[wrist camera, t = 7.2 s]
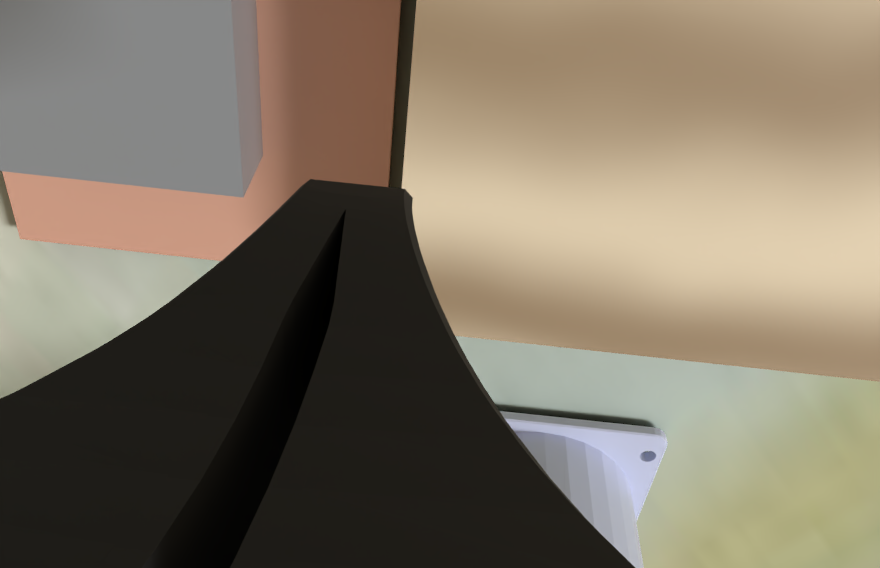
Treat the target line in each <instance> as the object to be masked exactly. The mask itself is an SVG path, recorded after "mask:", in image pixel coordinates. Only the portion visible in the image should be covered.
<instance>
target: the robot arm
mask: <svg viewBox="0 0 880 568" xmlns="http://www.w3.org/2000/svg"><path fill="white" fill-rule="evenodd" d="M412 202H413V198H412V196H411V195H410V194H409V193H408V192H407V191H406V189H402V188H392V187H382V186H373V185H363V184H353V183H343V182H334V181H324V180H314V179H310V180H309V181H307V182H306V183H305V184H303V185H302V186H301V187H300V188H299V189H298V190H297V191H296V192H295V193H294V194H293V195H292V196H291V197H290V198H289V199H288V200H287V201H286V202H285V203H284V204H283V205H282V206H281V207H280V208H279V209H278V210H277V211H276V212H275V213H274V214H273V215H271V216H270V217H269V218H268V219H267V220H266V221H265V222H264V223H263V224H262V225H261V226H260V227H259V228H258V229H257V230H256V231H255V232H253V233H252V234H251V235H250V236H249V237H248V238H247V239H246V240H244V241H243V242H242V243H241V244H240V245H239V246H238V247H237V248H235V249H234V250H233V251H232V252H231V253H230V254H229V255H228V256H226V257H225V258H224V259H223V260H222V261H221V262H220V263H218V264H217V265H216V266H215V267H214V268H212V269H211V270H210V271H208V272H207V273H206V274H205V275H203V276H202V277H201V278H200V279H198V280H197V281H196V282H194V283H193V284H192V285H191V286H189V287H188V288H187V289H186V290H184V291H183V292H182V293H180V294H179V295H178V296H177V297H175V298H174V299H173V300H171V301H170V302H169V303H167V304H166V305H164V306H163V307H162V308H160V309H159V310H157V311H156V312H155V313H153V314H152V315H150V316H149V317H147V318H146V319H144V320H143V321H141V322H140V323H138V324H136V325H135V326H133V327H132V328H130V329H128V330H127V331H125V332H124V333H122V334H121V335H119V336H117V337H116V338H114V339H113V340H111V341H109V342H108V343H106V344H104V345H103V346H101V347H99V348H97V349H96V350H94V351H92V352H90V353H88V354H86V355H84V356H83V357H81V358H79V359H77V360H75V361H73V362H71V363H69V364H68V365H66V366H64V367H62V368H60V369H58V370H56V371H54V372H52V373H51V374H49V375H47V376H45V377H43V378H41V379H39V380H37V381H36V382H34V383H32V384H30V385H28V386H26V387H24V388H22V389H20V390H18V391H16V392H14V393H12V394H10V395H8V396H6V397H3V398H1V399H0V568H644V566H643V560H642V554H641V548H640V542H639V536H638V530H637V524H636V521H637V519H638V516H639V514H640V512H641V509H642V507H643V504H644V502H645V499H646V497H647V494H648V492H649V489H650V487H651V485H652V482H653V480H654V477H655V475H656V472H657V470H658V467H659V465H660V463H661V460H662V458H663V455H664V453H665V450H666V448H667V438H666V435H665V433H664V431H662V430H661V429H658V428H655V427H646V426H637V425H627V424H618V423H608V422H599V421H590V420H580V419H571V418H561V417H552V416H543V415H533V414H524V413H514V412H505V411H499V410H498V408H497V407H496V405H495V404H494V402H493V400H492V399H491V397H490V396H489V394H488V393H487V391H486V390H485V388H484V387H483V385H482V383H481V382H480V380H479V378H478V377H477V375H476V373H475V372H474V370H473V368H472V367H471V365H470V363H469V362H468V360H467V358H466V356H465V354H464V352H463V351H462V349H461V347H460V345H459V343H458V341H457V339H456V337H455V335H454V333H453V331H452V329H451V327H450V325H449V322H448V320H447V318H446V316H445V314H444V312H443V310H442V307H441V305H440V303H439V300H438V298H437V296H436V293H435V291H434V288H433V285H432V282H431V280H430V277H429V274H428V271H427V269H426V266H425V263H424V260H423V257H422V254H421V251H420V247H419V243H418V239H417V235H416V231H415V226H414V221H413V214H412ZM645 451H649V452H645Z"/></svg>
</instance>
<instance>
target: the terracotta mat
mask: <svg viewBox="0 0 880 568" xmlns="http://www.w3.org/2000/svg"><path fill="white" fill-rule="evenodd" d="M401 1H402V0H256V8H257V30H258V53H259V75H260V98H261V121H262V143H263V157H262V159H261V161H260V163H259V165H258V168H257V170H256V172H255V174H254V176H253V178H252V181H251V183H250V185H249V187H248V189H247V191H246V193H245V196H244V198H243V197H234V196H224V195H215V194H206V193H197V192H188V191H179V190H169V189H160V188H151V187H142V186H133V185H123V184H114V183H105V182H96V181H87V180H78V179H68V178H59V177H50V176H41V175H32V174H23V173H13V172H4V171H2V173H3V177H4V180H5V184H6V188H7V192H8V195H9V199H10V203H11V206H12V210H13V214H14V217H15V221H16V225H17V228H18V232H19V236H20V239H26V240H35V241H44V242H53V243H62V244H72V245H81V246H90V247H99V248H108V249H117V250H127V251H136V252H145V253H154V254H163V255H172V256H182V257H191V258H200V259H209V260H218V261H222V260H223V259H224V258H225V257H226V256H228V255H229V254H230V253H231V252H232V251H233V250H234V249H235V248H237V247H238V246H239V245H240V244H241V243H242V242H243V241H244V240H246V239H247V238H248V237H249V236H250V235H251V234H252V233H253V232H255V231H256V230H257V229H258V228H259V227H260V226H261V225H262V224H263V223H264V222H265V221H266V220H267V219H268V218H269V217H270V216H271V215H273V214H274V213H275V212H276V211H277V210H278V209H279V208H280V207H281V206H282V205H283V204H284V203H285V202H286V201H287V200H288V199H289V198H290V197H291V196H292V195H293V194H294V193H295V192H296V191H297V190H298V189H299V188H300V187H301V186H302V185H303V184H305V183H306V182H307V181H309V180H310V179H314V180H324V181H334V182H343V183H353V184H363V185H373V186H382V187H389V177H390V163H391V148H392V133H393V119H394V104H395V89H396V75H397V60H398V45H399V31H400V16H401Z"/></svg>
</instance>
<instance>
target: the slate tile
mask: <svg viewBox="0 0 880 568" xmlns="http://www.w3.org/2000/svg"><path fill="white" fill-rule="evenodd" d="M262 157H263V143H262V121H261V98H260V75H259V53H258V30H257V8H256V0H0V171H4V172H13V173H23V174H32V175H41V176H50V177H59V178H68V179H78V180H87V181H96V182H105V183H114V184H123V185H133V186H142V187H151V188H160V189H169V190H179V191H188V192H197V193H206V194H215V195H224V196H234V197H243V198H244V196H245V193H246V191H247V189H248V187H249V185H250V183H251V181H252V178H253V176H254V174H255V172H256V170H257V168H258V165H259V163H260V161H261V159H262Z"/></svg>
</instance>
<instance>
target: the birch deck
mask: <svg viewBox="0 0 880 568" xmlns="http://www.w3.org/2000/svg"><path fill="white" fill-rule="evenodd" d="M402 189H406V191H407V192H408V193H409V194H410V195H411V196H412V198H413V202H412V214H413V221H414V226H415V231H416V235H417V239H418V243H419V247H420V251H421V254H422V257H423V260H424V263H425V266H426V269H427V271H428V274H429V277H430V280H431V282H432V285H433V288H434V291H435V293H436V296H437V298H438V300H439V303H440V305H441V307H442V310H443V312H444V314H445V316H446V318H447V320H448V322H449V325H450V327H451V329H452V331H453V333H454V335H455V336H463V337H473V338H482V339H491V340H500V341H510V342H519V343H528V344H537V345H547V346H556V347H565V348H574V349H584V350H593V351H602V352H611V353H621V354H630V355H639V356H648V357H658V358H667V359H676V360H685V361H695V362H704V363H713V364H723V365H732V366H741V367H750V368H760V369H769V370H778V371H787V372H797V373H806V374H815V375H824V376H834V377H843V378H852V379H861V380H871V381H880V0H417V1H416V13H415V26H414V38H413V51H412V63H411V76H410V89H409V101H408V114H407V126H406V139H405V152H404V164H403V177H402Z"/></svg>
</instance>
